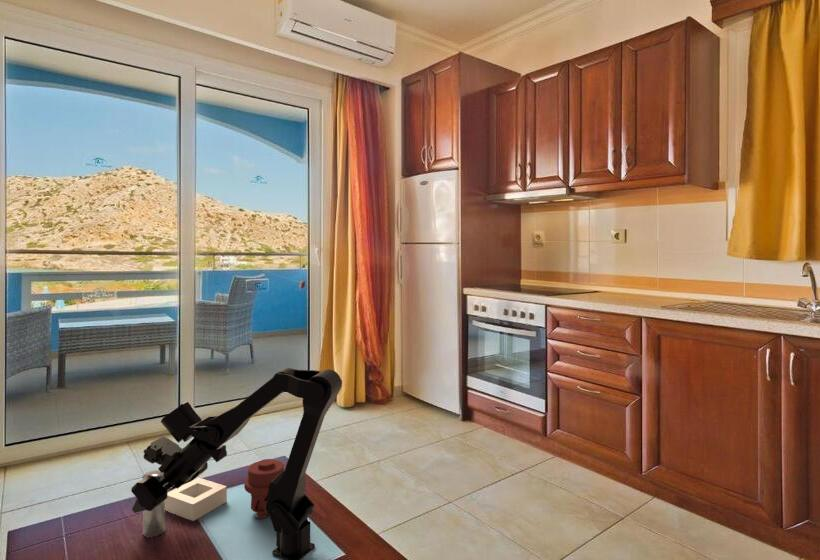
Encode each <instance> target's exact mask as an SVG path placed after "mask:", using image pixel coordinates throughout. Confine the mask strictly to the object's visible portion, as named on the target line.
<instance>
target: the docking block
mask: <svg viewBox="0 0 820 560" xmlns="http://www.w3.org/2000/svg"><path fill="white" fill-rule="evenodd" d="M227 494H228V486H227V485H224V484H220V483H218V482H217V483H216V482H214V481H212V480H211V481H210V480H208V479H204V478H202V477H197V478H195V479H194V480H192V481H191V482H188V483H186V484H184V485H182V486H181V487H179V488H178V489H177V488H174V489H172V490H169V491H167V499H166V500H165V510H166V511H165V512H167V511H168V512H167V513H170V514H173V515H175V514H176V515H175V516H178V517H181V518H183V519H187V520H188V521H193V522H194V521H196V520H197V519H199V518H201V517H202V516H204V515H207V514H208V513H209V512H212V511H214V510H215V509H217V508H219V507H221V506H222V505H224V504H225V503H227V502H228V500H227V499H228V498H227V497H228V495H227Z"/></svg>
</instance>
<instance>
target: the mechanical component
mask: <svg viewBox="0 0 820 560" xmlns="http://www.w3.org/2000/svg"><path fill="white" fill-rule="evenodd" d="M282 471H285V463H283V462H282V461H281V460H278V459H271V458H265V459H261V460H258V461H255V462H254V463H251V464H250V465H249V466H248V468H247V477H246V478H245V480H244V482H243V483H244V487H243V488H244V490H245V491H246V492H247V493H248V494H250V496H251V498H250V500H251V501H250V509H251V510H252V512H255V513H256V514H257V515H256V516H257V517H256V518H257V519H259V520H262V519H264V518H265V517H267V516H269V515H268V513H267V511H266V508H265V506H266V502H267V501H264V499H265V498H266V496H267V494H268V490H269V485H270V483H271V482H272V481H273V480H274V479H275V478H276V477H277V476H278V475H279V474H280V473H281V472H282Z"/></svg>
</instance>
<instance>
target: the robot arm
mask: <svg viewBox="0 0 820 560" xmlns="http://www.w3.org/2000/svg"><path fill="white" fill-rule="evenodd" d="M342 388H343V380H342V378H341V376H340V374H338V373H337V371H335V370H333V369H329V368H328V369H323V370H317V369H316V370H315V369H296V368H290V367H287V368H284V369H281V370H280V371H278V372H276V373H275V374H274V375H273V376H272V377H271V378H270V379H269V380H268V381H266V382H265V383H264V384H263V385H261V386H260V387H259V388H258V389H257V390H255V391H254V392H253V393H251V394H249V396H247V397H246V398H245V399H244V400H242V401H241V402H240V403H239V404H237V405H236V406H234V407H232V408H230V409H228V410H225V412H222V413H220V414H219V415H209V416H207V417H205V418H203V419H202V417H200V415H199V414H197V412H196V411H195V410H194V409H193V407H192V404H190V403H189V401H185V402H182V403H181V404H180V405H179V406H178V407H176V408H175V409H173V410H172V411H171V412H169V413H167V414H166V415H165V416H164V417H162V419H161V420H160V423H161V424H162V425H163V426H164V428H166V430H167V432H168V433H169V434H170V435H171V436H172V438H173V439H174V440H175V441H176V442H177V443H176V442H174V441H173V440H171V439H169V438H168V437H165V436H162V437H159V438H157V439H155V440H154V441H152V442H150V444H149V445H147V448H145V449H144V450H143V459H144V460H145V461H146V462H148V463H150V464H154V463H156V464H158V465H160V466H159V467H158V470H160V472H161V473H164V474H163V475H164V478H165V479H164V480H162V481H161V482H159V481H158V480H157V479H156V477H155V476H152V475H148V476H147V477H145V478H143V479H140V480H138V481H137V482H136V483H134V485H133V486H132V487H131V490H130V491H131V493H132V494H133V495H134V496H135V498H136V499H135V502H134V504H133V506H132V508H131V510H132V512H133V513H134V514H137V513H141V512H143V511H144V510H147V511H152V510H153V509H154V508H156V507H157V506H159V505H160V504H161V503H162V502H163V501H165V500H166V499H167V493H168V492H170V491H172V490H174V489H176V488H177V489H178V488H179V487H181V486H182V485H184V484H186V483H188V482H191V481H193V480H195V479H197V478H199V476H200V475H202V474H203V473H205V472H206V471H207V470H208V465H209V464H208V462H209V461H210V460H211V459H213V461H215V462H216V463H218V462H220V461H222V460H223V459H224V458H225V457H227V456H228V453H227V446H226V444H225V443H228V441H231V440H232V439H233V438H234V437H236V436H238V435H239V433H241V431H243V429H244V428H245V427H246V426H247V425H248V423H249V421H250V420H251V419H252V417H254V416H255V415H256V414H257V413H258V412H260V411H261V410H262V409H264V408H265V407H266V406H267V405H269V404H271V402H273V401H274V400H275V399H276V398H278V397H279V396H280V395H281V394H283V393H288V394H290V395H291V396H294V397H297V398H299V399H300V398H301V399H302V409H303V410H302V411H303V413H302V417H301V420H300V423H299V426H298V428H297V429H298V430H297V432H296V435H295V438H294V442H293V445H292V446H291V449H290V453H289V456H288V459H287V462H286V465H285V467H284V471H282V472H281V473H280V474H279V475H278V476H277V477H276V478H275V479H274V480H273V481H272V482H271V483H270V485H269V490H268V494H267V496H266V498H265V499H264V501H267V502H266V506H265V508H266V511H267V513H268V515H267V516H269V518H270V521H271V524H272V527H273V530H274V532H275V533H276V535H275V536H276V537H275V539H276V542H275V545H276V548H274V549H273V550H272V551H271V553H272V556H276V557H278V558H281V559H283V560H302V559H303V558H304V557H305V556H307V554H309V553H310V552H311V551H312V550H313V549H314V548H315V547H316V544H315V543H313V542H311V521H309V520H308V519H309V517H310V515H312V514H313V511H314V508H315V503H314V502H313V501H312V500H311V499H310V497H308V495H306V485H307V484H306V473H307V469H308V467H309V463H310V461H311V458H312V455H313V452H314V448H315V446H316V443H317V440H318V437H319V433H320V432H321V428H322V425H323V422H324V419H325V416H326V414H327V412H329V410H330V408H331V407H332V405H333V403H334V402H335V400H336V399H337V397H338V395H339V394H340V392H341V390H342ZM190 439H191V440H190ZM182 441H183V442H184V443H185V442H188V441H189V443H187V444H186V445H185V446H184V447H183V448H182V447H181V446H180V445H179V444H178V443H180V442H182ZM163 486H165V487H163Z"/></svg>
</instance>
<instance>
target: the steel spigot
mask: <svg viewBox="0 0 820 560" xmlns="http://www.w3.org/2000/svg"><path fill="white" fill-rule="evenodd" d="M163 474H164V473H161V472H160V470H159V469H158V470H151V471H148V472H146V473H144V474H142V479H143V478H145V477H147V476H148V475H152V476H155V477H156V479H157V480H158V481H159V482H161V481H162V480H164V479H165V478H164V475H163ZM142 479H141V480H142ZM163 487H165V486H163ZM165 531H166V511H165V501H163V502H162V503H161V504H160V505H159V506H157V507H156V508H154V509H153V510H152V511H147V510H144V511H142V535H143V534H144V535H145V536H150V537H149V538H152V537H151V536H155V537H157V536H156V535H158V536H160V535H159V534H161V533H162V534H164V533H165ZM162 534H161V535H162ZM145 536H144V537H145Z"/></svg>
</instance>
